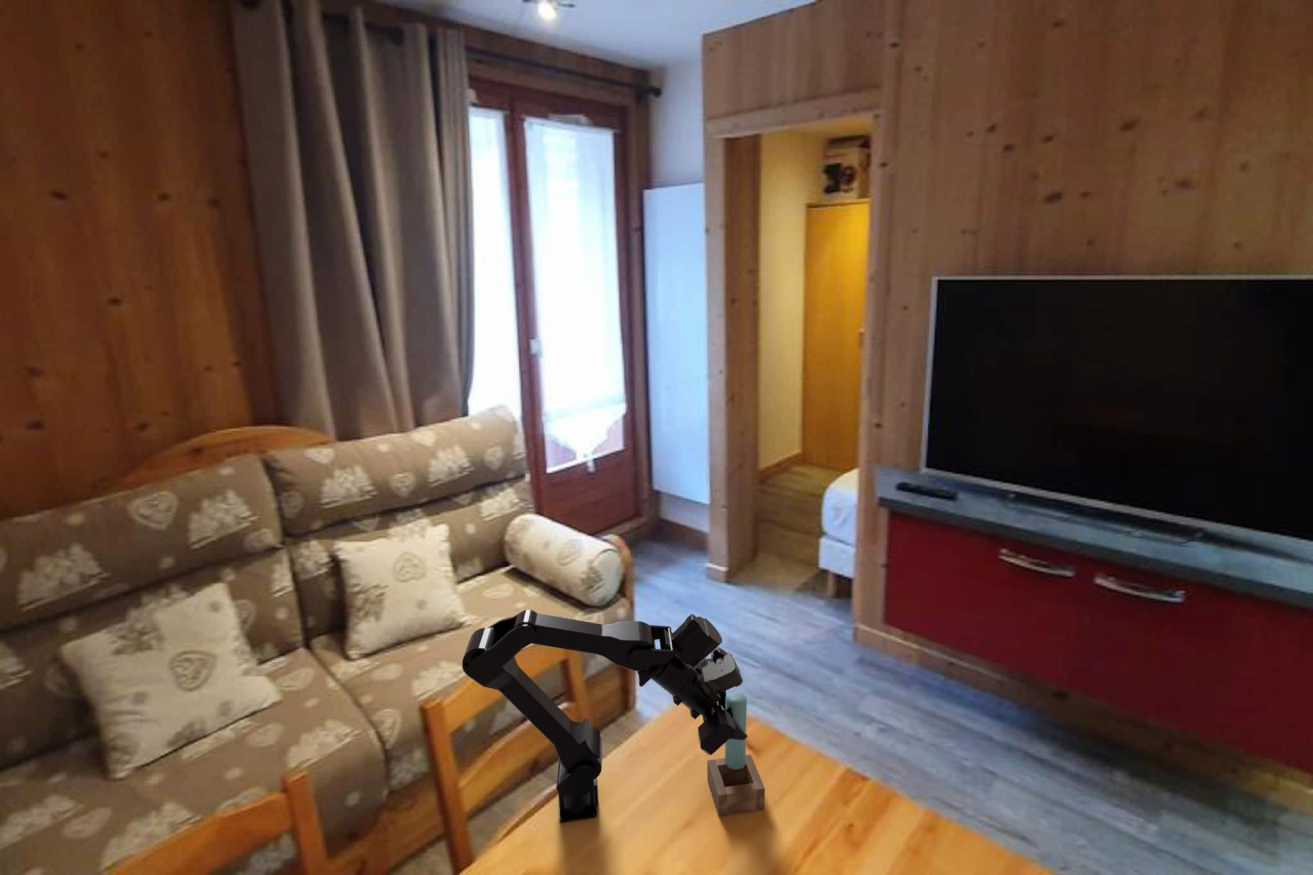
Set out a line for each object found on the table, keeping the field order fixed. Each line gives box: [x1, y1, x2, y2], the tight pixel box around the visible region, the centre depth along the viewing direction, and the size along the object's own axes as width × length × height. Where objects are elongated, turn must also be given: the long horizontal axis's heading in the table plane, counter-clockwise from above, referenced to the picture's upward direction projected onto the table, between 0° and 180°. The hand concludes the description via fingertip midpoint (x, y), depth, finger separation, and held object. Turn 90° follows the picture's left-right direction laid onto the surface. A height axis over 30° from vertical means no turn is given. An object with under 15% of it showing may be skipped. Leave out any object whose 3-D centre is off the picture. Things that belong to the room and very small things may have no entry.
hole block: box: [706, 753, 766, 817], centre depth 120 cm, size 8×8×4 cm
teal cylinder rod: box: [724, 691, 748, 769], centre depth 117 cm, size 4×4×13 cm
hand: (743, 729), depth 117 cm, fingers closed on teal cylinder rod, 4 cm apart
